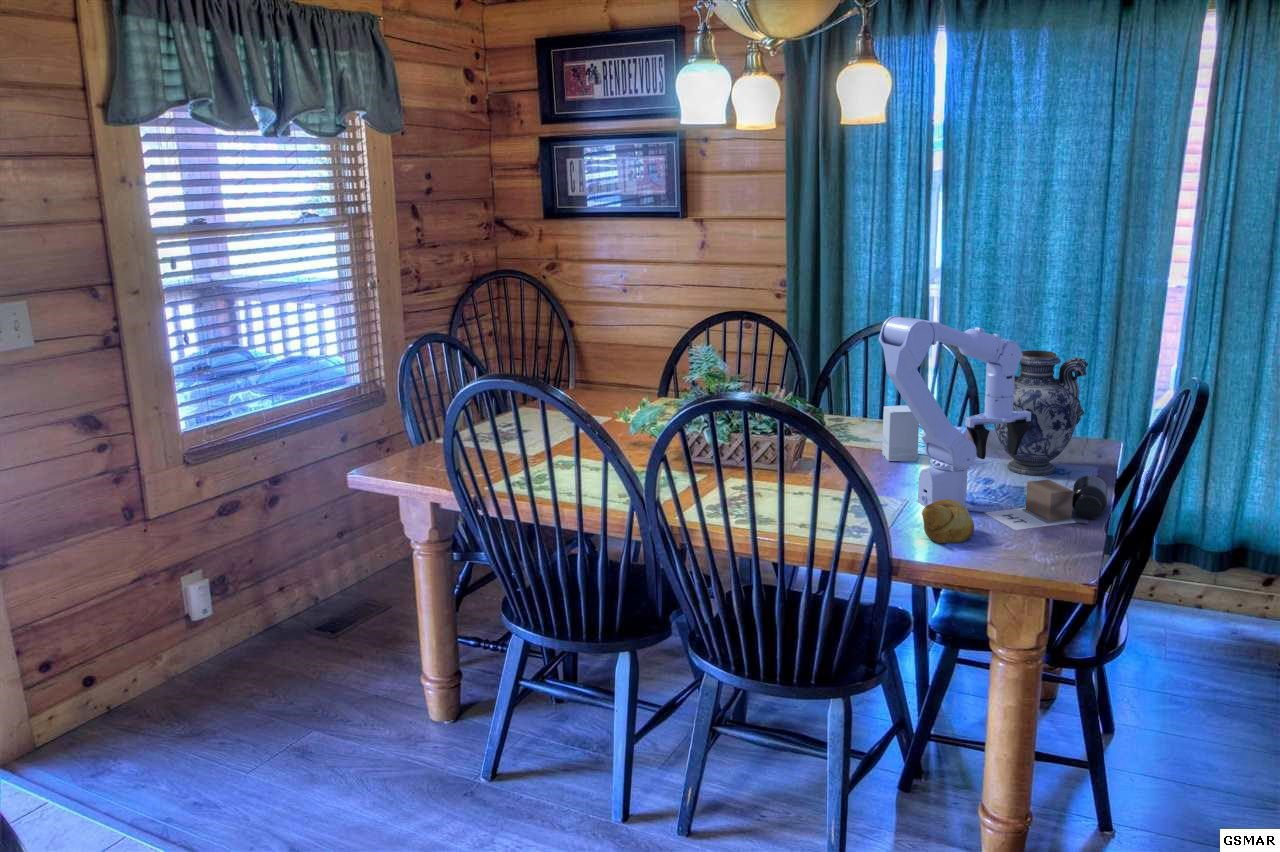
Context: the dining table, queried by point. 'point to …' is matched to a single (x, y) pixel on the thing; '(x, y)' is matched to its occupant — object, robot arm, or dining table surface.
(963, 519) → the bread roll
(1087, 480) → the supplement bottle
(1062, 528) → the dining table surface
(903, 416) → the supplement box
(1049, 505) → the walnut block
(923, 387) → the robot arm
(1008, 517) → the board
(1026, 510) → the pad
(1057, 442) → the decorative vase
